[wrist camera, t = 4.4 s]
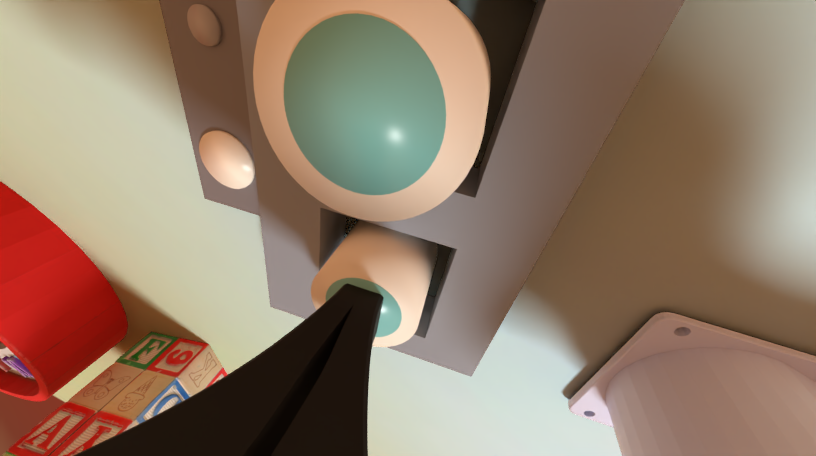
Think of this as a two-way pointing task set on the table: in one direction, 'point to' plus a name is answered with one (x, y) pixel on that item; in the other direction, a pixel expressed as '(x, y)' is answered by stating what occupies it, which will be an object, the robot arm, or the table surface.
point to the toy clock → (49, 304)
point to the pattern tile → (214, 97)
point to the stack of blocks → (124, 396)
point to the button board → (478, 172)
